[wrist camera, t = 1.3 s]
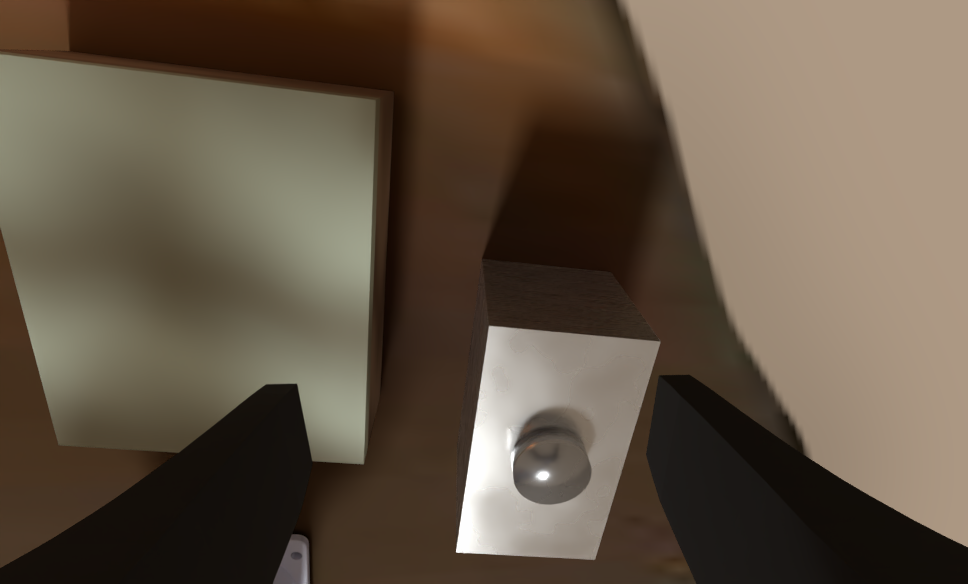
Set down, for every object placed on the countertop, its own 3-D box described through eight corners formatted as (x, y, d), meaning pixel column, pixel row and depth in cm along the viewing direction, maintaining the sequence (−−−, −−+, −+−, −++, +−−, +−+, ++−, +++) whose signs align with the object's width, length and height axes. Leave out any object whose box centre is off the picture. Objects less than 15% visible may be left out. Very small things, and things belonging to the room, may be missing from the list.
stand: (380, 396, 22) (364, 463, 18) (129, 377, 21) (58, 445, 17) (394, 91, 17) (375, 100, 13) (68, 51, 16) (-48, 48, 12)
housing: (566, 453, 24) (600, 580, 18) (456, 445, 23) (455, 572, 17) (610, 271, 20) (670, 356, 14) (481, 257, 20) (490, 340, 14)
